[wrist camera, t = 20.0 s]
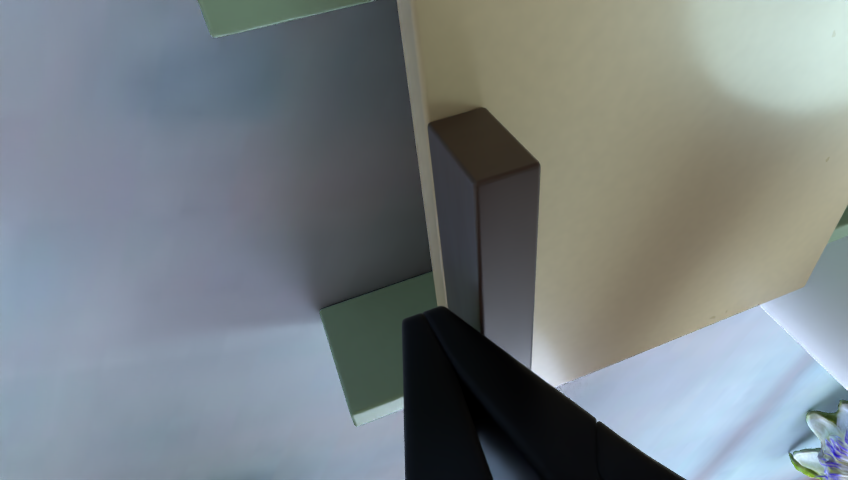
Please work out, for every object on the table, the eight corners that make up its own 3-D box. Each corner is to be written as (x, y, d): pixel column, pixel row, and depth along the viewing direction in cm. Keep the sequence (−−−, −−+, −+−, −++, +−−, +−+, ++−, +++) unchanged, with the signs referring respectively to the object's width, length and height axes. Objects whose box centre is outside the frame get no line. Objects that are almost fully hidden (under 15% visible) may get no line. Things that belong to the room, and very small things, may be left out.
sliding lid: (449, 403, 15) (490, 491, 13) (388, -48, 8) (465, 11, 6) (784, 270, 17) (859, 330, 15) (1001, -182, 10) (1201, -171, 8)
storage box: (323, 323, 18) (355, 429, 15) (181, -73, 10) (193, -12, 7) (873, 131, 22) (980, 185, 19) (1065, -245, 14) (1290, -250, 12)
